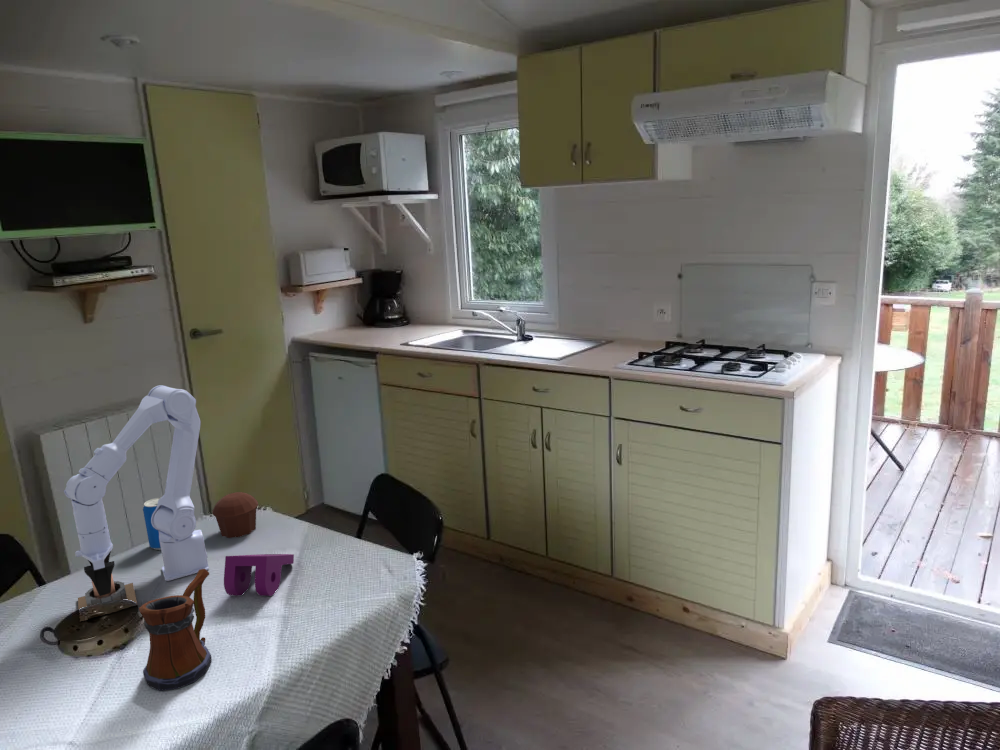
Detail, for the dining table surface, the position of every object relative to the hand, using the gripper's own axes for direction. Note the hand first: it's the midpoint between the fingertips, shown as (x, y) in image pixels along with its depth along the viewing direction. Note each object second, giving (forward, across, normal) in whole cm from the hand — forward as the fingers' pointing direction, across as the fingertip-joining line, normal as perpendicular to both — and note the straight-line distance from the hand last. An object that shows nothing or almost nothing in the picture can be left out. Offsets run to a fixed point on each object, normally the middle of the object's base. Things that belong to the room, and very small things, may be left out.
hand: (104, 586), depth 156 cm
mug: (+4, +34, +12) cm, 36 cm away
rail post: (+3, 0, 0) cm, 3 cm away
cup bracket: (+4, 0, 0) cm, 4 cm away
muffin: (+4, -21, +32) cm, 39 cm away
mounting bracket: (+4, +11, +32) cm, 34 cm away
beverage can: (+4, -24, +14) cm, 28 cm away
